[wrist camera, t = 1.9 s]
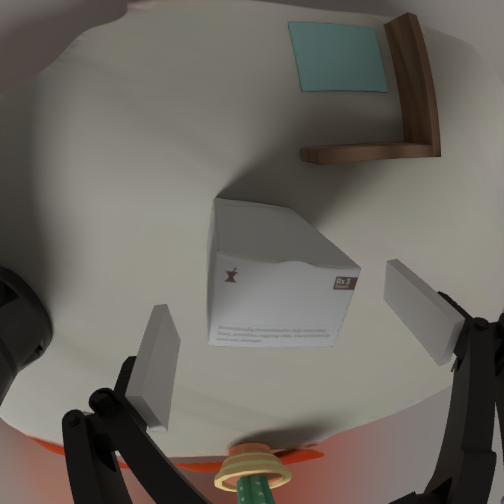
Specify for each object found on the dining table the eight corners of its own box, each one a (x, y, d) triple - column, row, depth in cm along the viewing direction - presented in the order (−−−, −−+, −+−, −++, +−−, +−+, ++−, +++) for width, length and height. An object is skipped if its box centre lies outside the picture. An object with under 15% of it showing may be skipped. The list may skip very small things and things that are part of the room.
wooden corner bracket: (302, 160, 26) (319, 165, 21) (276, 15, 20) (287, -6, 15) (413, 152, 26) (441, 157, 22) (391, 26, 20) (416, 15, 15)
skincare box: (206, 250, 28) (198, 349, 15) (214, 192, 26) (207, 252, 13) (285, 259, 30) (333, 354, 16) (297, 205, 28) (367, 270, 14)
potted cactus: (280, 428, 43) (307, 544, 21) (289, 456, 50) (310, 546, 27) (201, 441, 43) (206, 554, 20) (224, 467, 49) (232, 556, 26)
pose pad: (301, 91, 23) (302, 91, 23) (287, 23, 20) (288, 22, 20) (386, 92, 24) (388, 91, 23) (373, 29, 20) (374, 28, 20)
